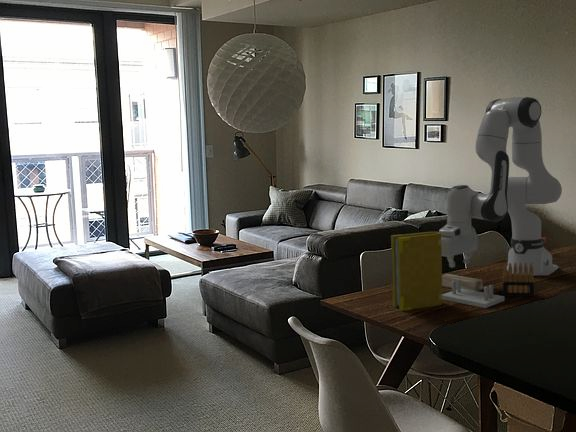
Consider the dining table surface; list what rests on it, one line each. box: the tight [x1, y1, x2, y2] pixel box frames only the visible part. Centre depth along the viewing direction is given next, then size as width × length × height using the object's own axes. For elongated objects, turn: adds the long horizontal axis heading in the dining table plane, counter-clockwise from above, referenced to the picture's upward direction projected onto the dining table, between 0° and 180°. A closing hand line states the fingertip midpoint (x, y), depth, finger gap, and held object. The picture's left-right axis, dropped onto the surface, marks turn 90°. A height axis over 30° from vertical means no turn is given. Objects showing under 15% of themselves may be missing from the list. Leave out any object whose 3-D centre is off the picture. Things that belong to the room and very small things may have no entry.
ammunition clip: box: [501, 262, 535, 297], centre depth 230 cm, size 11×2×12 cm, turn 76°
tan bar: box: [442, 273, 484, 292], centre depth 245 cm, size 5×16×4 cm, turn 41°
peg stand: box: [442, 279, 506, 309], centre depth 227 cm, size 12×18×6 cm, turn 41°
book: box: [390, 231, 443, 312], centre depth 223 cm, size 17×7×25 cm, turn 106°
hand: (459, 265), depth 244 cm, fingers open, 8 cm apart
